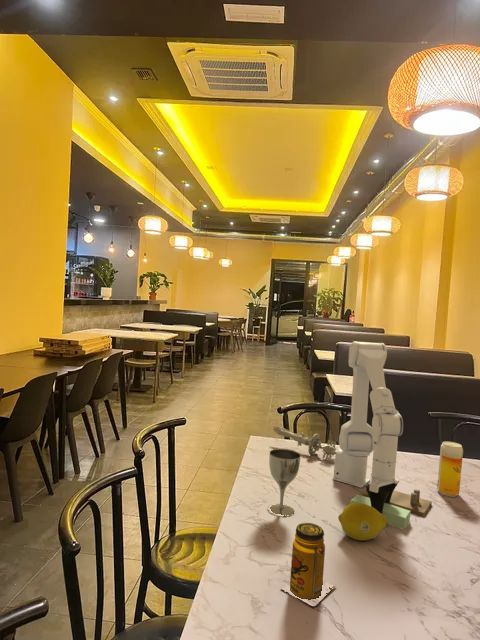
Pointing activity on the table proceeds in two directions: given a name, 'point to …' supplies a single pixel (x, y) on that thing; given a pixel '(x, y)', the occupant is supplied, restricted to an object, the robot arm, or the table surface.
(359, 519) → the lemon
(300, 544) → the condiment
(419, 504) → the peg base
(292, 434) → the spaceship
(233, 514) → the table surface
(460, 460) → the beer can
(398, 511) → the shelf board
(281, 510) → the wine glass
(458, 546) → the table surface
